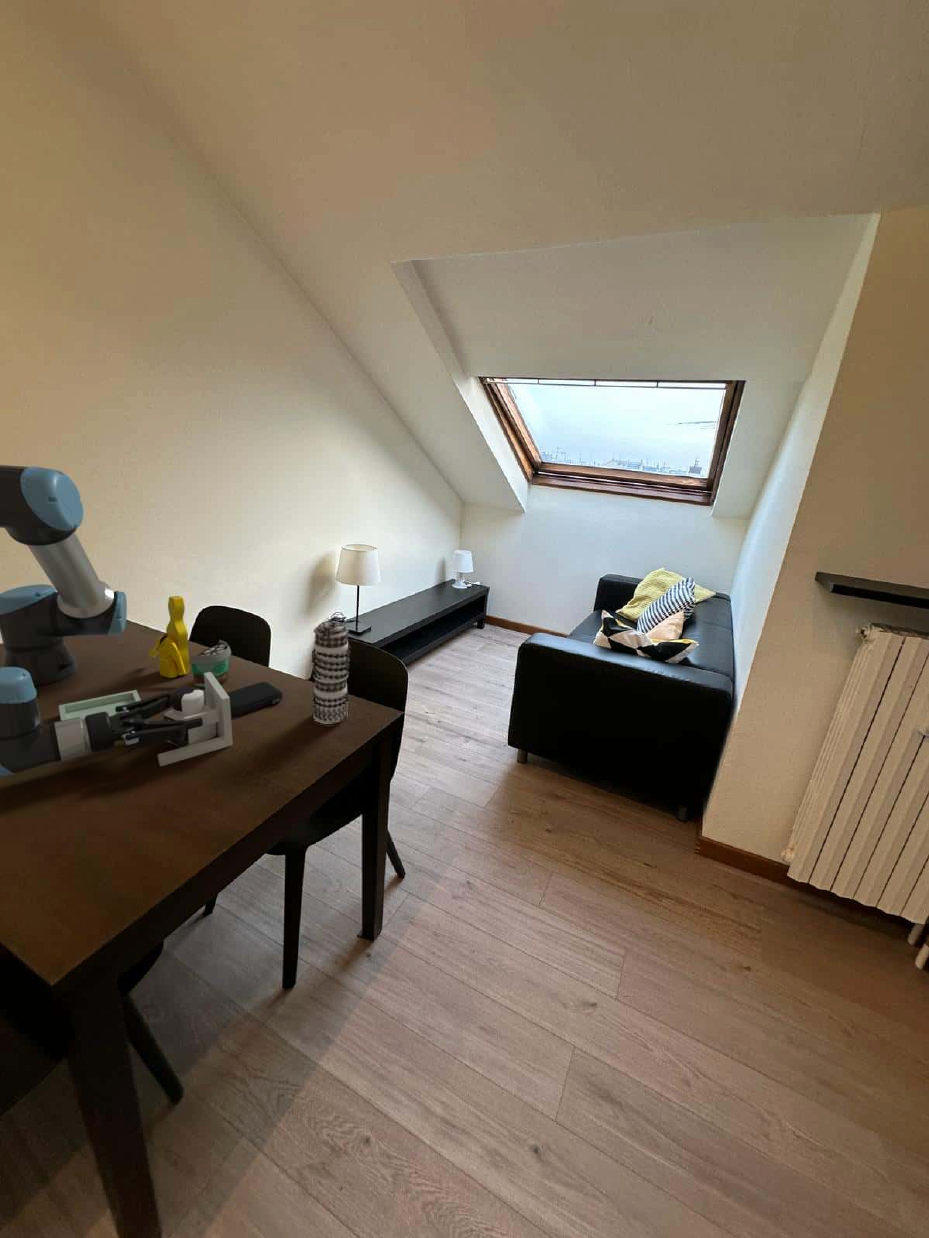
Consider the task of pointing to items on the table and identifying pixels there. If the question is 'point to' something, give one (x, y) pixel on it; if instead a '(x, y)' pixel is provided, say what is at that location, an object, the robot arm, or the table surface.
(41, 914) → the table surface
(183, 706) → the medicine bottle
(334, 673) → the decorative candle
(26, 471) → the robot arm
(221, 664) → the food container
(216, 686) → the bay
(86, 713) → the tray
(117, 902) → the table surface
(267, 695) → the carrying case or bag
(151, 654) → the figure statuette
